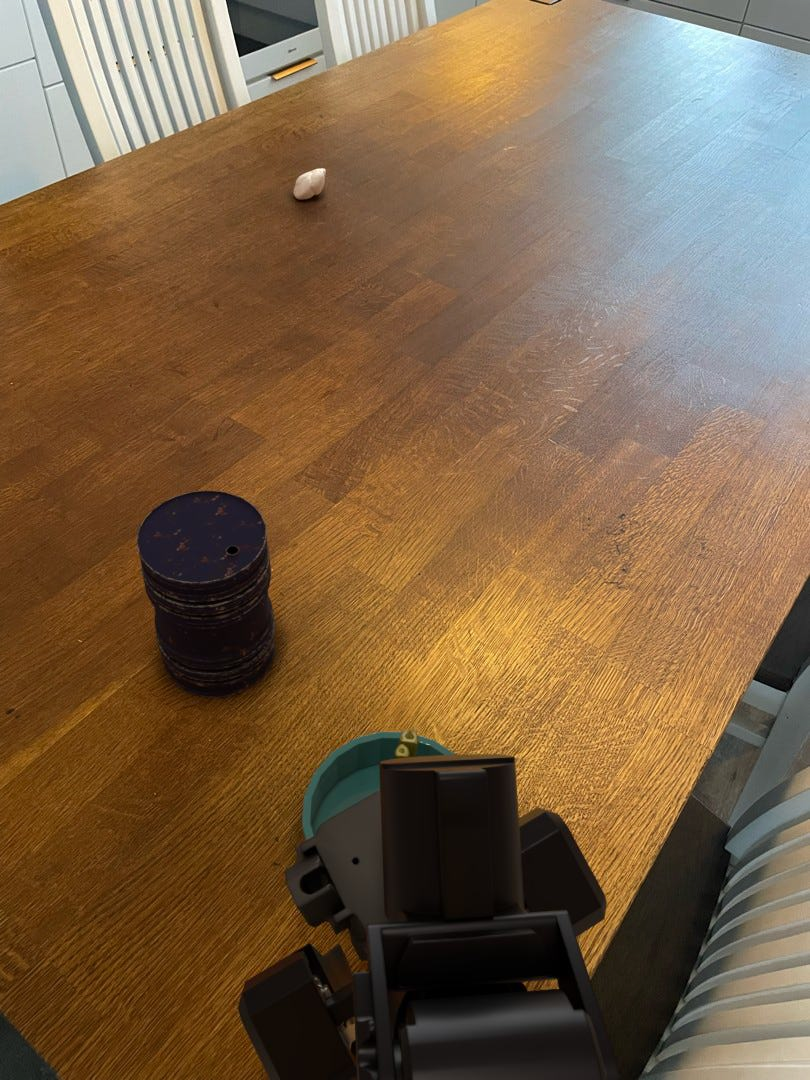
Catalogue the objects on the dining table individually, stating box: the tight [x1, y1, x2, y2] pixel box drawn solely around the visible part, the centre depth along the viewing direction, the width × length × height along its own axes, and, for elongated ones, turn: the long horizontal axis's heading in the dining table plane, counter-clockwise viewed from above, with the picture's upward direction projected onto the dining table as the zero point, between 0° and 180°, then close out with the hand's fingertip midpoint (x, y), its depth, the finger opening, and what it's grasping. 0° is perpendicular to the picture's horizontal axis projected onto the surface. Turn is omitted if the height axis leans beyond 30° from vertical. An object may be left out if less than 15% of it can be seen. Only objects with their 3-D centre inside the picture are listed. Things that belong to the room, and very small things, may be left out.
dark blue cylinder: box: [136, 489, 276, 699], centre depth 73 cm, size 10×10×15 cm
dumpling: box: [293, 168, 327, 200], centre depth 137 cm, size 7×5×4 cm
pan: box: [301, 731, 457, 843], centre depth 66 cm, size 13×13×4 cm
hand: (408, 912), depth 54 cm, fingers open, 9 cm apart
